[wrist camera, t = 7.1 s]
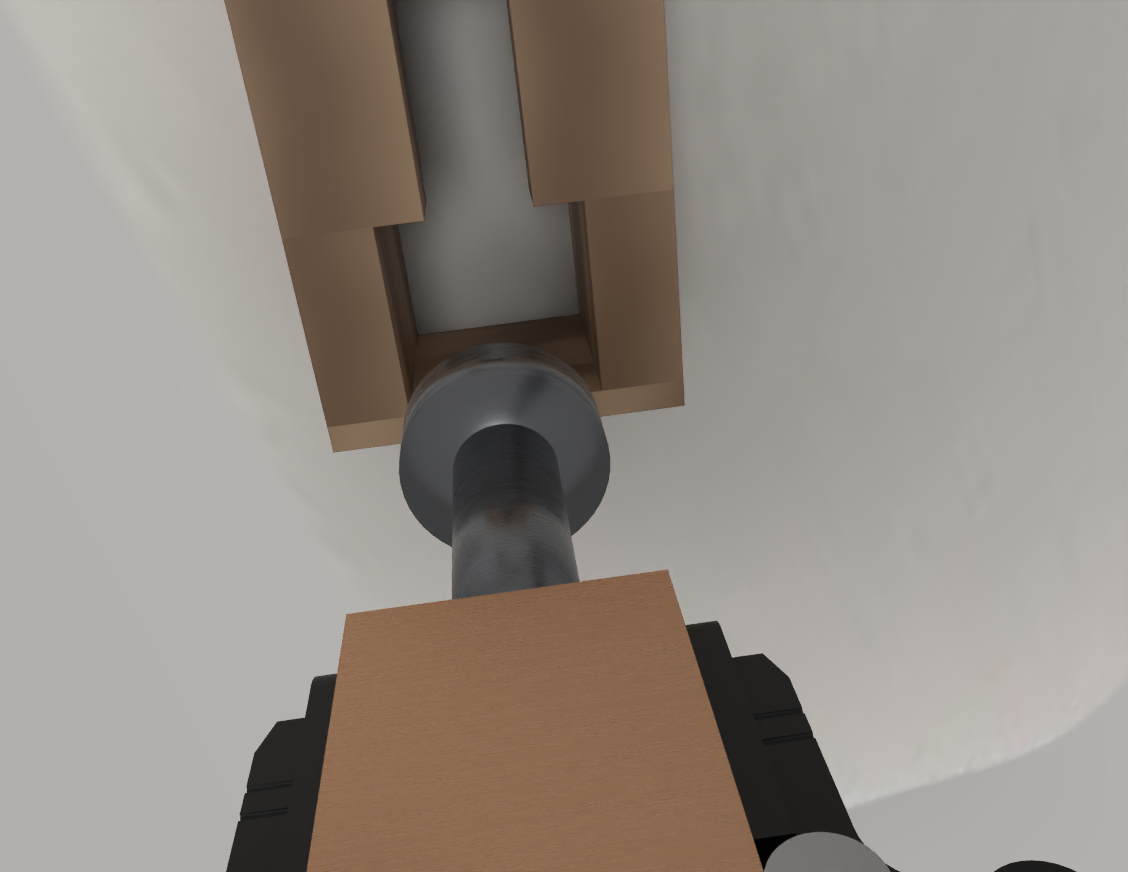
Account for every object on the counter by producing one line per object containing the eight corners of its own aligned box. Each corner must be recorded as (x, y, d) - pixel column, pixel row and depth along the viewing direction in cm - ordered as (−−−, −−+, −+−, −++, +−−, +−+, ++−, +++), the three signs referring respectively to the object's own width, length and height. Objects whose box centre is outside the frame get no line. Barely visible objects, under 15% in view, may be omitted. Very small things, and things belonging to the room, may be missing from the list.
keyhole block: (611, -239, 26) (649, -275, 21) (649, 327, 34) (684, 405, 29) (229, -196, 26) (170, -222, 21) (352, 366, 34) (333, 452, 28)
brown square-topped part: (591, 329, 20) (782, 929, 8) (607, 504, 21) (781, 1189, 10) (386, 356, 19) (284, 1005, 8) (421, 529, 21) (379, 1254, 10)
